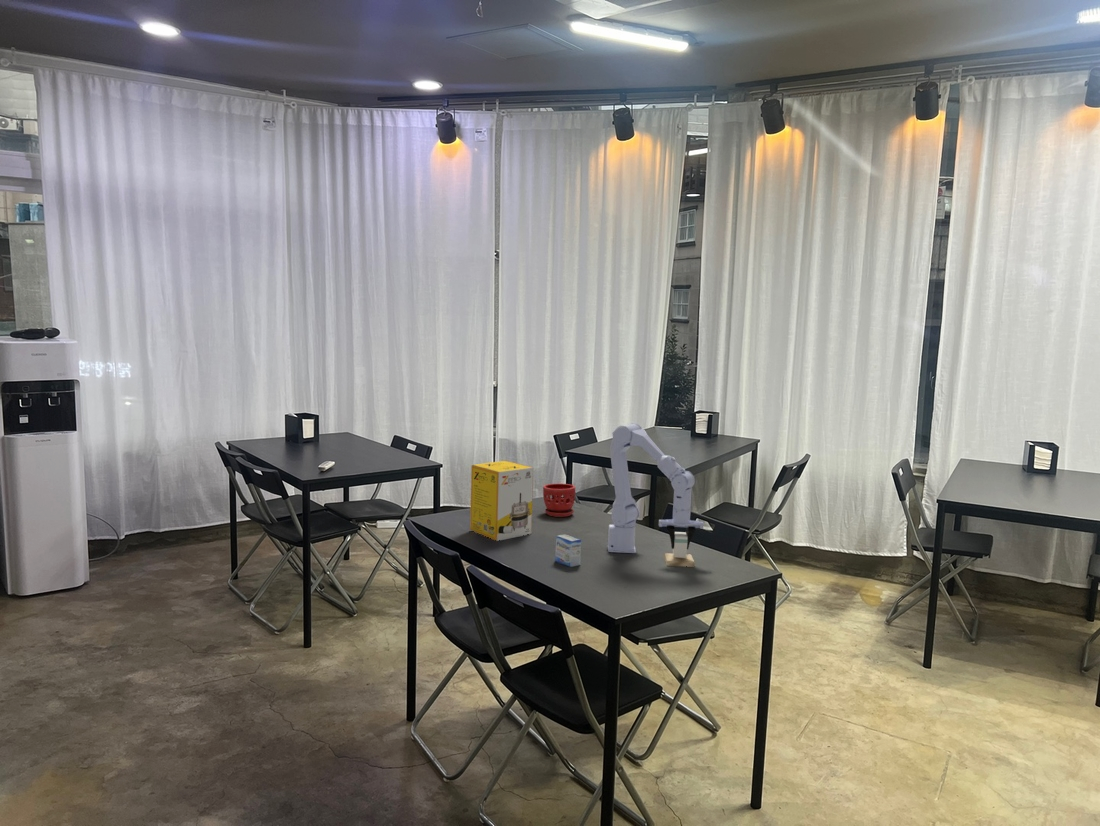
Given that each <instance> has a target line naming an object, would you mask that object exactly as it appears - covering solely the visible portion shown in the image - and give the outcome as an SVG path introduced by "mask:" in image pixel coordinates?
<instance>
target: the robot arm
mask: <svg viewBox="0 0 1100 826" xmlns="http://www.w3.org/2000/svg"><path fill="white" fill-rule="evenodd" d="M632 446H636V447H641V449H642V450H644V451H645V452H646V453H647V454H648V455H649V456H650V457H651V458H653V460H654V461H656V463H657V468H658V469H659V470H660V471H661V473H663V474H664V476H666V478H667V479H668V480H669V481H670V484H671V487H672V488H673V505H672V506H673V507H672V518H671V519H658V527H659V528H662V527H666V529H667V532H668V536H669V539H670V545H671V546H670V547H671V549H672V550H673V549H674V535H675V532H676V529H675V528H686V529H685V530H686V531H685V532H686V534H687V537H688V542H687V550H689V547H690V544H691V541H692V538H693V537H694V535H695V534H696V529H704V524H705V523H704V522H703V521H698V520H691V508H692V489H693V487H694V486H695V483H696V479H695V475H694V474H693V473H692V472H691V471H689V470H686V469H685V467H682V466H681V465H680V464H679V463H678V462H677V461H676V460H677V459H676V458H675V457H674V456H671V455H670V454H669V455H666V454H665V453H664V452H663V451H662V450H661V449H660V447H658V446H657V444H656V443H655V442H654V440H652V439H651V437H650V436H649V435H648V433H647V431H646V430H645V429H644V428H642V426H641V425H640V424H638V423H631V424H626V425H619V426H618V427H616V428H615V430H614V431H612V438H611V442H610V446H609V454H610V461H611V462H610V463H611V470H612V471H611V473H612V477H613V478H612V480H613V485H614V493H615V499H614V502H613V503H612V512H611V514H610V515H611V516H610V517H611V521H612V523H613V524H611V523H610V524H608V536H607V538H608V539H607V544H606V545H607V551H608V553H624V554H627V553H628V554H636V553H637V551H636V546H635V544H636V543H635V540H636V539H635V538H636V521H638V519H639V517H640V510H639V507H637V502H636V499H634V497H633V496H632V491H631V484H630V475H629V474H630V472H629V466H628V458H627V451H628V450H629V449H630V448H631V447H632Z"/></svg>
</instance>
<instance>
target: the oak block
mask: <svg viewBox="0 0 1100 826" xmlns="http://www.w3.org/2000/svg"><path fill="white" fill-rule="evenodd" d="M663 554H664V555H663V559H664V561H665V564H666V566H668V567H686V566H687V567H690V568H695V563H696V562H695V560H694V558H693V556H692V554H690V553H689V554H687V556H686V558H679V557H674V555H673V552H671V553H669V552H663ZM687 567H686V568H687Z"/></svg>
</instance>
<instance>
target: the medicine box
mask: <svg viewBox="0 0 1100 826" xmlns="http://www.w3.org/2000/svg"><path fill="white" fill-rule="evenodd" d="M554 552H555V553H554V554H555V557H554V561H555V562H556V563H559V564H562V565H564V566H567V567H570V568H573V567H577V566H580V565H581V555H582V554H581V553H582V539H579V538H576V537H575V536H571V535H568V534H565V533H564V534H559V535H556V537H555V551H554Z"/></svg>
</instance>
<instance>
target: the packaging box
mask: <svg viewBox="0 0 1100 826" xmlns="http://www.w3.org/2000/svg"><path fill="white" fill-rule="evenodd" d="M470 469H471V471H470V472H471V473H470V514H469V516H470V519H469V522H470V523H469V524H470V525H469V531H470V530H473V531H475V532H477V533H479V534H482V535H484V536H483V537H485V536H486V537H485V538H487V537H489V538H488V539H490V538H491V539H490V540H492V541H495V540H496V541H495V542H499V540H500V541H503V540H509V539H512V538H517V537H523V535H524V536H528V535H527V534H529V535H532V528H533V496H534V495H533V494H534V493H533V492H534V491H533V490H534V467H532V466H528V465H524V464H520V463H515V462H513V461H507V460H501V461H492V462H483V463H475V464H471V468H470ZM477 533H476V534H477ZM479 534H478V535H479ZM482 535H481V536H482Z"/></svg>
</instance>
